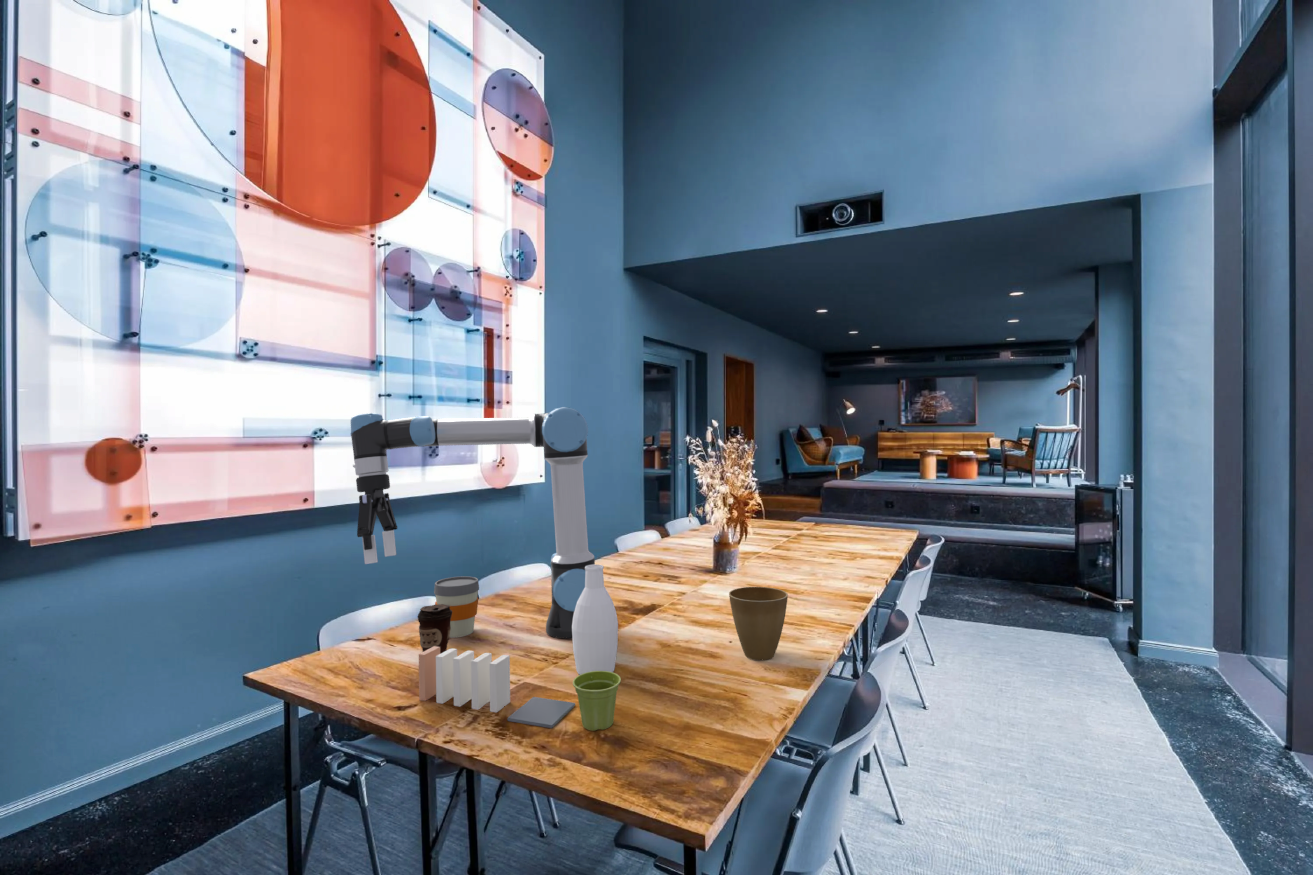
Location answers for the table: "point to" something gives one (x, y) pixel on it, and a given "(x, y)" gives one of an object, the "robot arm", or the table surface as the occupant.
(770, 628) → the plant pot
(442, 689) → the domino
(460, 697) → the domino
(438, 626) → the coffee cup
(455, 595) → the reusable coffee cup
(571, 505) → the robot arm
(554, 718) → the slate coaster
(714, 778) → the table surface
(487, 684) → the domino
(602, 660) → the bottle
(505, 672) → the domino
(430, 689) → the domino
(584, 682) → the plant pot
